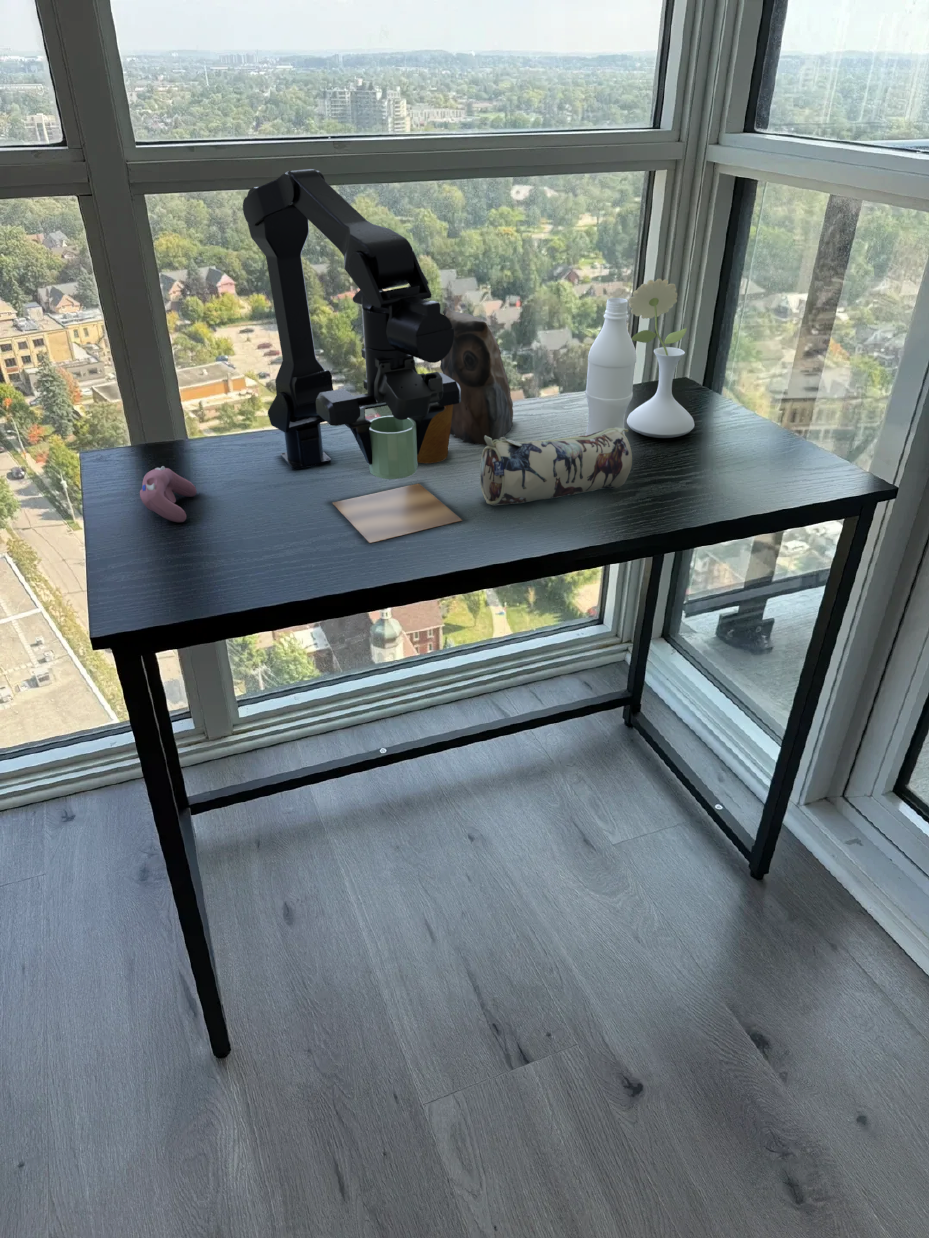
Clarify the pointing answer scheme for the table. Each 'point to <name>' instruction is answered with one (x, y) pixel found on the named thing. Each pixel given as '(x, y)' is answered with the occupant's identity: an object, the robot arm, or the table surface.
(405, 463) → the glazed cup
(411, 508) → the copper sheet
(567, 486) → the pencil case
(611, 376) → the water bottle
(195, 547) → the table surface
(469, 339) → the owl
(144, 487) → the video game controller
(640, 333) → the flower in vase
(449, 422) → the disposable coffee cup
